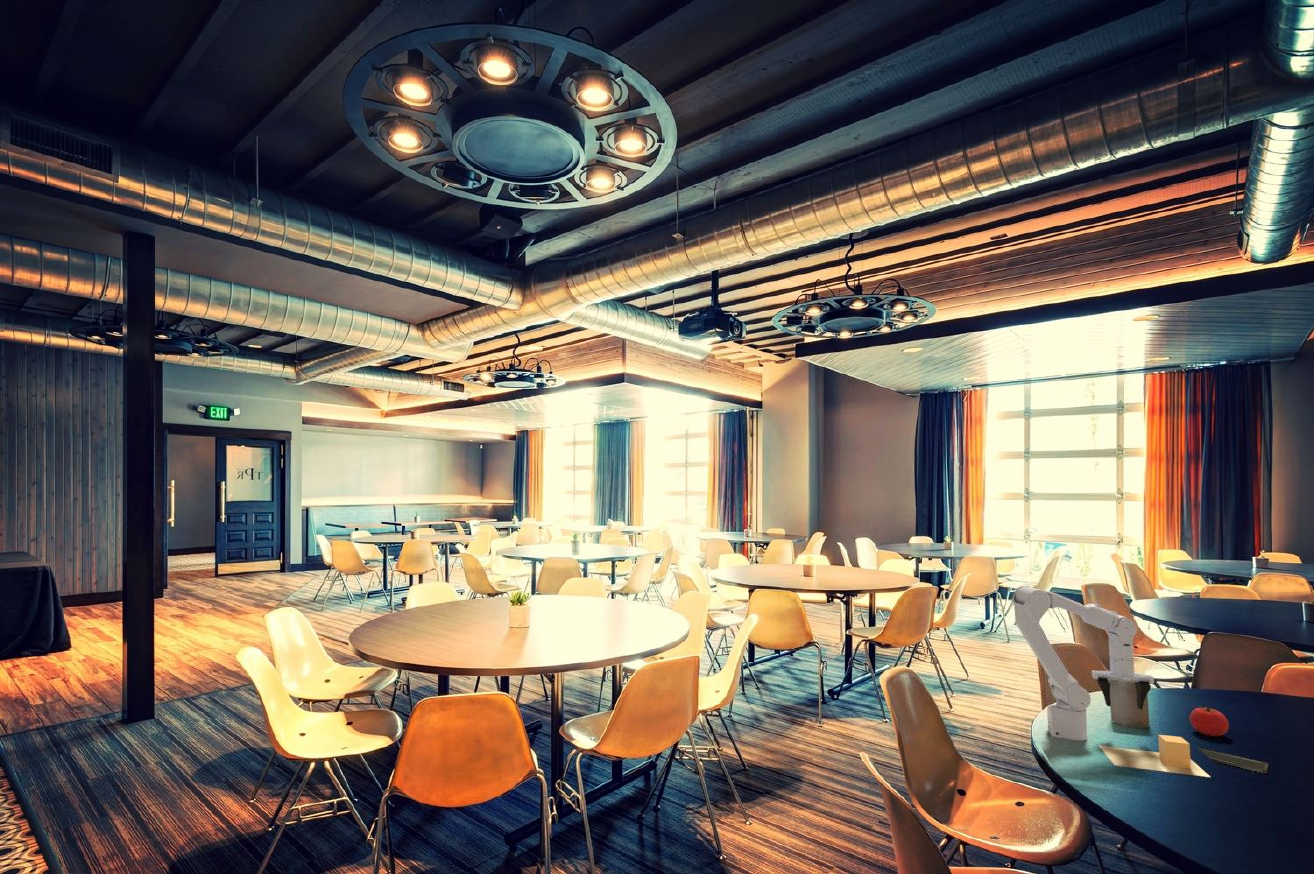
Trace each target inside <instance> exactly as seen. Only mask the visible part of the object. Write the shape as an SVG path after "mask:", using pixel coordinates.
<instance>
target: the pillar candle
mask: <svg viewBox="0 0 1314 874" xmlns="http://www.w3.org/2000/svg"><path fill="white" fill-rule="evenodd" d="M1108 681H1109V683H1110V701H1111V706H1109V707H1110V709H1109V710H1110V718H1111V719H1110V720H1111V722H1112V721H1114V722H1116V723H1115V724H1117V723H1118V725H1121V726H1122V725H1123V727H1126V726H1127V727H1126V728H1133V729H1146V728H1149V727H1150V715H1149V714H1150V713H1149V698H1148V695H1147V696H1146V698H1145V701H1144V704H1143V710H1142V709H1139V708H1138V707H1137V692H1136V685H1135V682H1131V681H1119V680H1108ZM1114 722H1113V723H1114Z"/></svg>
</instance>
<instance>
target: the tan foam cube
mask: <svg viewBox="0 0 1314 874" xmlns="http://www.w3.org/2000/svg"><path fill="white" fill-rule="evenodd" d="M1157 737H1158V739H1157V740H1158V753H1159V758H1160V759H1161V760H1162V761H1163V762H1164V763H1165V764H1166V765H1167V766H1174V767H1182V768H1190V769H1191V762H1190V759H1191V749H1190V746H1191V745H1190V743H1189V742H1188V741H1187V740H1185V739H1184V738H1183V737H1182V736H1177V735H1176V736H1175V735H1168V734H1167V735H1165V734H1164V735H1163V734H1158V735H1157Z"/></svg>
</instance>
